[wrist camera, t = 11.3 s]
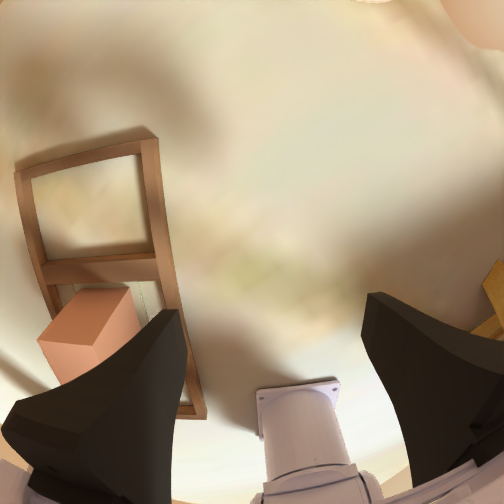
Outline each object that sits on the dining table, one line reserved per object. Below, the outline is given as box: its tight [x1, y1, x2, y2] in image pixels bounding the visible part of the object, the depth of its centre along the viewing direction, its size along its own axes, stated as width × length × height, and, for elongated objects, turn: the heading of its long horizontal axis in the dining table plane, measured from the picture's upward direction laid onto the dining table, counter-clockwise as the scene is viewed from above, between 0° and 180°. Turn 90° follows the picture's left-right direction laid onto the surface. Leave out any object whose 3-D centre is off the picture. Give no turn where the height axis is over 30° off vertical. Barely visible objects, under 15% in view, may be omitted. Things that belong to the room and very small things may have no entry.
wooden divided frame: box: [14, 138, 207, 420], centre depth 20 cm, size 25×12×1 cm, turn 3°
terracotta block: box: [37, 287, 141, 385], centre depth 17 cm, size 4×4×7 cm
